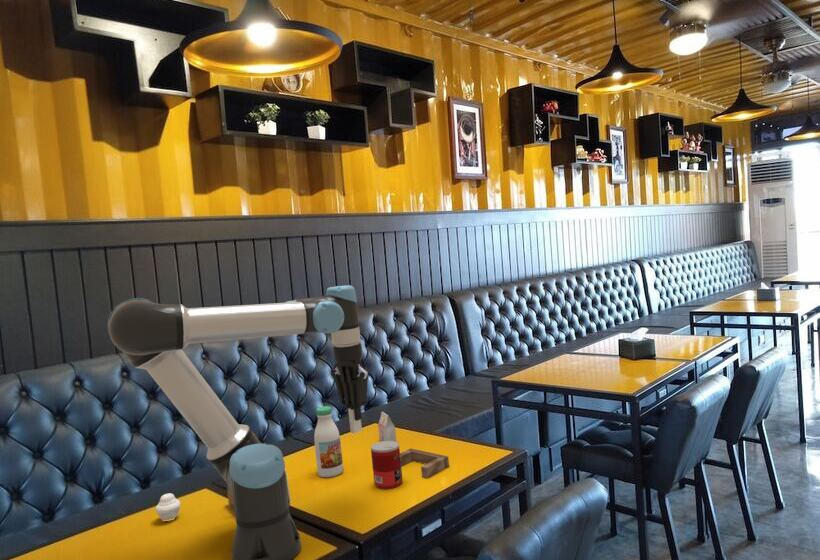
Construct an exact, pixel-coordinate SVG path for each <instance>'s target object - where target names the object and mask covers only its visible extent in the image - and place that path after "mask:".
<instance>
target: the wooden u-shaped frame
mask: <svg viewBox="0 0 820 560" xmlns="http://www.w3.org/2000/svg"><path fill="white" fill-rule="evenodd" d="M400 459H401V467H404V466H405V465H407V464H409V463H411V462H414V461H416V462H415V463H418V462H421V463H420V464H423V463H426V464H423V465H422V466H420V471H421V477H422V478H423V477H424V478H425V479H429V478H432V477H433V476H434V474H435V475H436V474H438V473H441V472H442V471H443V470H445V469H447V468H449V467H450V459H449V456H448V455H443V454H439V453H434V452H430V451H429V452H428V451H424V450H420V449H415V448H409V449H408V448H407V449H406V450H404V451H402V452H400Z"/></svg>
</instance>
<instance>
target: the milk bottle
mask: <svg viewBox="0 0 820 560" xmlns="http://www.w3.org/2000/svg"><path fill="white" fill-rule="evenodd" d="M315 413H316V417H317V422H316V426H315V430H314V435H313V437H314V438H313V439H314V450H315V460H316V461H315V462H316V468H317V469H316V470H317V475H318V476H319V477H322V478H333V477H336V476H337V477H338V476H339V475H341V474H342V473H343V472H344V463H343V453H342V445H341V436H340V435H341V434H340V432H339V429H338V427H337V425H336V423H335V422H334V420H333V417H332V415H333V409H332V407H331V406H329V405H328V406H327V405H326V406H325V405H324V406H320V407H317V408H316V412H315Z"/></svg>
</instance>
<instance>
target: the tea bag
mask: <svg viewBox="0 0 820 560" xmlns="http://www.w3.org/2000/svg"><path fill="white" fill-rule="evenodd" d="M377 425H378V427H377V428H378V434H379V442H380V441H381V442H382V441H394V442H397V433H396V426H395V425H394V423H393V422H392V419H391V418H390V416H389V415H388V414H386V413H385V412H384V411H380V418H379V421H378V424H377Z"/></svg>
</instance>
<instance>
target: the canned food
mask: <svg viewBox="0 0 820 560" xmlns="http://www.w3.org/2000/svg"><path fill="white" fill-rule="evenodd" d="M400 453H401V450H400V444H399V442H398V441H396V442H394V441H382V442H380V441H378V442H375V443H373V444H372V445H371V446H370V454H371V463H372V464H371V465H372V472H373V473H372V475H373V480H374V484H375V485H374V486H375V487H376V488H378V489H382V490H383V489H384V490H385V489H386V490H388V489H395V488H397V487H400V486H401V485H402V483H403V472H402V466H401V459H400Z"/></svg>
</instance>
